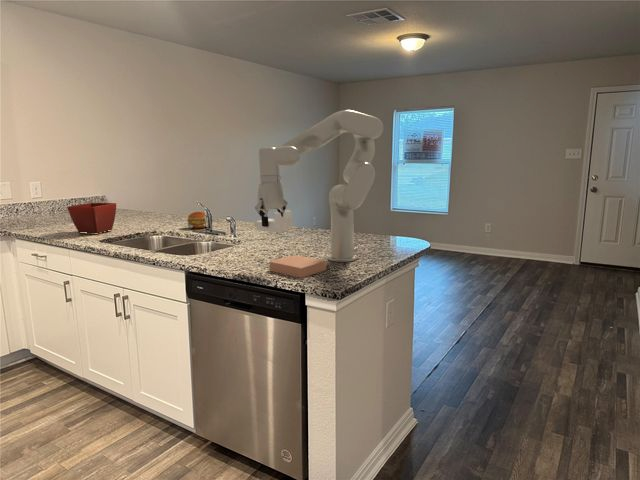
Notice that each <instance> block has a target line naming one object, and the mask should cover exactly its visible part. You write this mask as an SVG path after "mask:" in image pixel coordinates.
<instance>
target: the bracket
mask: <svg viewBox="0 0 640 480" xmlns="http://www.w3.org/2000/svg"><path fill="white" fill-rule="evenodd" d="M292 212H293V211H292V210H290V209H289V210H288V209H285V211H284V214H283V217H282V216H281V213H278V212H277V211H275V212H274V213H273V218H268V224H269V226H268V227H264V226H262V219H261V220H257V221H255V227H256V228H255V230H256V231H261V232H262V231H263V232H269V233H280V234H281V233H285V232H287V230H288V229H292V228H293V215H292V214H293V213H292Z"/></svg>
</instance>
